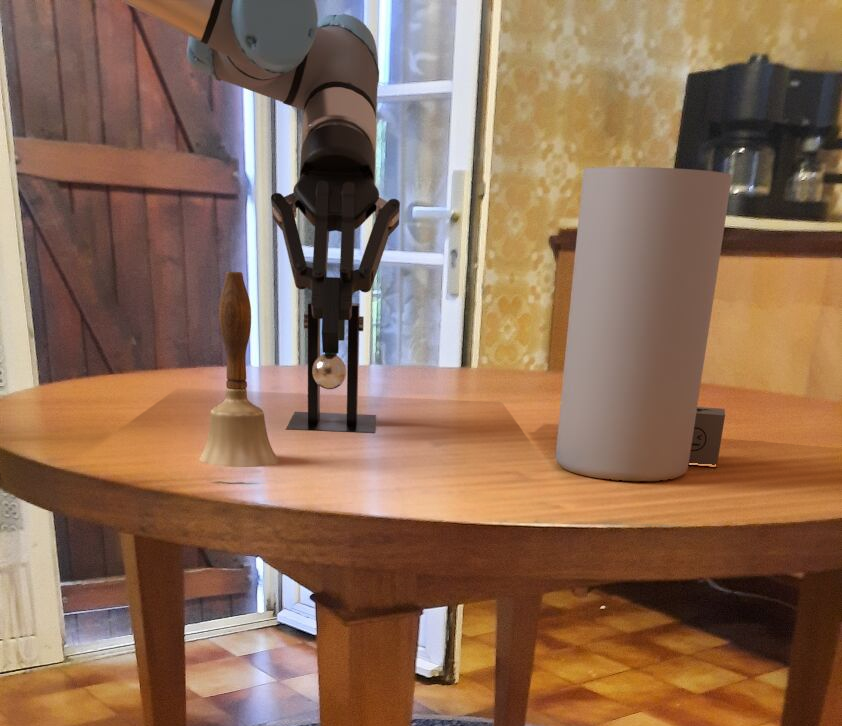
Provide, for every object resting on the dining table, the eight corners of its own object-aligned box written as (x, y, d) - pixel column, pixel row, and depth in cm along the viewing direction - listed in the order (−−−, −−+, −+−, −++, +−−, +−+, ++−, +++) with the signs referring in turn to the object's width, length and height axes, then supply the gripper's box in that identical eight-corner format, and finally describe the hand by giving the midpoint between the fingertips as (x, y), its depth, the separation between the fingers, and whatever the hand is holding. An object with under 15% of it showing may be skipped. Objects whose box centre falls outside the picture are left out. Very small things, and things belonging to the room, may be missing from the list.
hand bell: (181, 466, 94) (171, 268, 87) (272, 463, 97) (269, 271, 90) (202, 486, 87) (193, 272, 80) (300, 481, 90) (299, 276, 83)
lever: (345, 396, 101) (345, 364, 99) (311, 394, 101) (310, 363, 99) (350, 331, 110) (350, 301, 108) (319, 330, 110) (318, 300, 108)
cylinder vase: (668, 460, 108) (708, 180, 97) (702, 486, 97) (751, 172, 86) (546, 455, 107) (572, 172, 96) (565, 480, 96) (597, 164, 85)
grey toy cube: (716, 459, 109) (724, 408, 107) (716, 468, 105) (725, 415, 103) (666, 455, 110) (674, 404, 108) (665, 463, 106) (672, 411, 104)
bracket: (374, 445, 108) (378, 308, 102) (285, 442, 107) (283, 304, 102) (375, 426, 118) (379, 302, 113) (294, 423, 118) (293, 298, 112)
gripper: (401, 186, 112) (398, 372, 104) (276, 180, 111) (263, 367, 103) (404, 123, 105) (400, 317, 97) (270, 116, 104) (256, 311, 96)
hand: (330, 342), depth 100 cm, fingers closed
